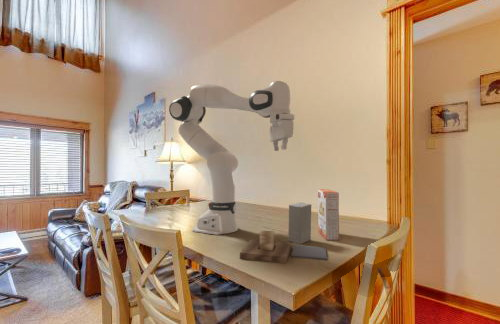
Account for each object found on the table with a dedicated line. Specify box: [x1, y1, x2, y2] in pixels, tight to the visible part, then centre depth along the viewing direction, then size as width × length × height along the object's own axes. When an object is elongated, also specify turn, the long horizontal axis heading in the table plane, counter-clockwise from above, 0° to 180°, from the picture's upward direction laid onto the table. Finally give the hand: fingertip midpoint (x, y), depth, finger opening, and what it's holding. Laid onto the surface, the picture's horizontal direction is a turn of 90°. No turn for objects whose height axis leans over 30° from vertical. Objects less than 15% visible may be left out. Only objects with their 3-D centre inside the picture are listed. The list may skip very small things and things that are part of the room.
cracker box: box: [317, 188, 340, 241], centre depth 114 cm, size 14×6×21 cm, turn 178°
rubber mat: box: [291, 244, 328, 261], centre depth 91 cm, size 12×12×1 cm
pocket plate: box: [239, 239, 292, 264], centre depth 91 cm, size 16×16×2 cm
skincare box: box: [287, 202, 312, 245], centre depth 106 cm, size 8×7×16 cm
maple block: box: [259, 230, 275, 251], centre depth 91 cm, size 4×4×8 cm
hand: (279, 150), depth 109 cm, fingers open, 8 cm apart
